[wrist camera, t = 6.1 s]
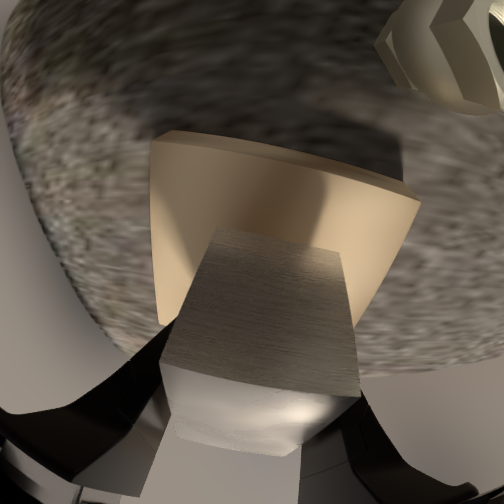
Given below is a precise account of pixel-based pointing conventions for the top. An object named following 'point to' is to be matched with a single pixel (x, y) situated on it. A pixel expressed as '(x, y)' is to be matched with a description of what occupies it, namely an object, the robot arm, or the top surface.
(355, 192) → the oak plate
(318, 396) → the aluminium block
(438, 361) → the top surface
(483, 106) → the valve
